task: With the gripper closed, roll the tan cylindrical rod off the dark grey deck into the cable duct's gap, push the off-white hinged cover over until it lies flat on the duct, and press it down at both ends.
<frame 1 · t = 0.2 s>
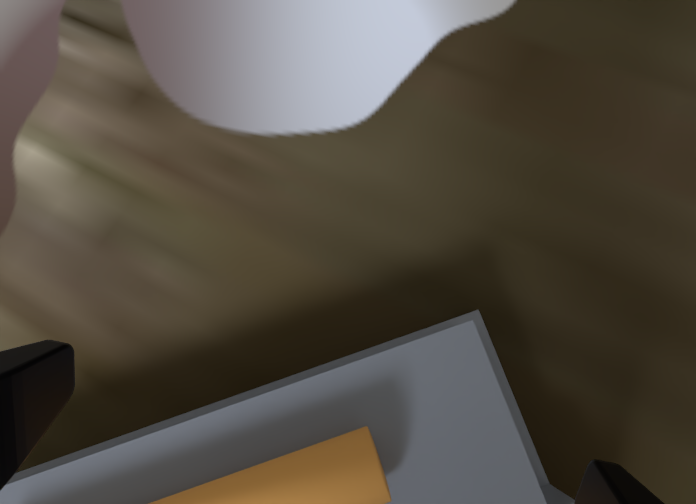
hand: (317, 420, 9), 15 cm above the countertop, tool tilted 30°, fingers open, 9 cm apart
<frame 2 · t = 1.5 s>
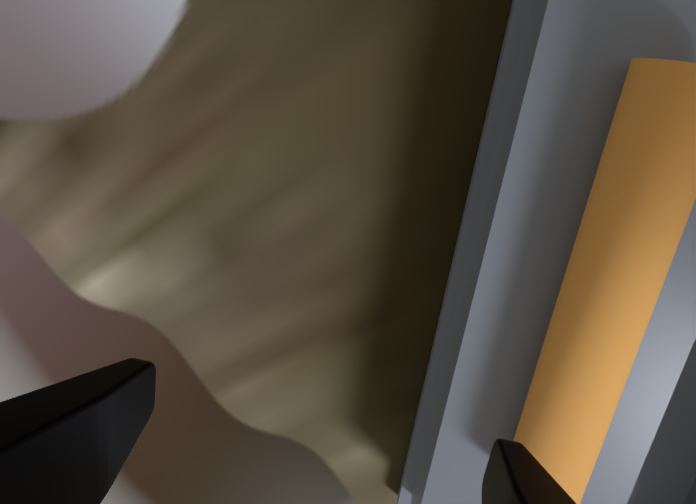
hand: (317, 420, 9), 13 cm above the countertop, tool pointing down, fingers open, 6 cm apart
tan cylindrical rod: (600, 313, 16), point 5 cm above the countertop, touching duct
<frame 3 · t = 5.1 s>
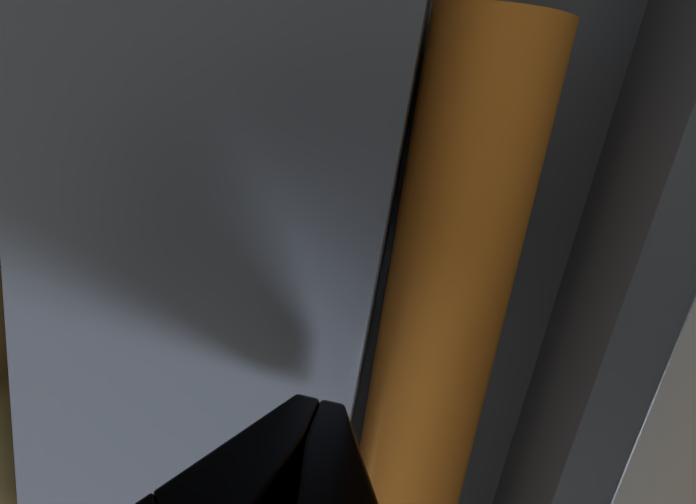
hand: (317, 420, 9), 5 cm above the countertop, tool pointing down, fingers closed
tan cylindrical rod: (432, 360, 12), point 2 cm above the countertop, tilted 81°, touching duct
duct: (452, 322, 13), on the countertop
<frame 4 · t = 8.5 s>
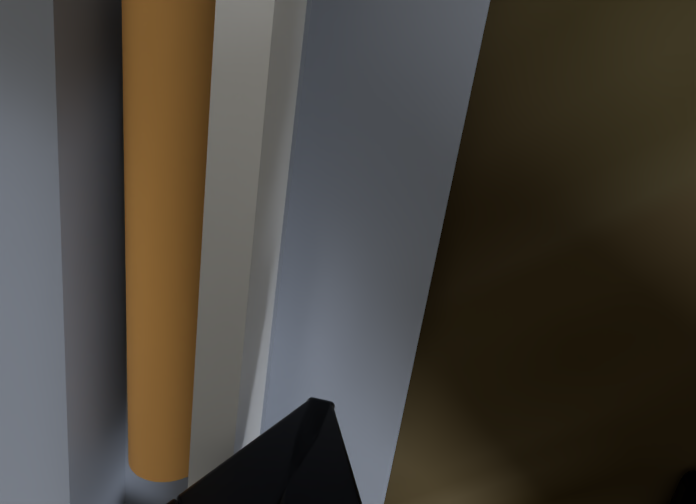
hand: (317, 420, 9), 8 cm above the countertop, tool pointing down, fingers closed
tan cylindrical rod: (172, 255, 15), point 2 cm above the countertop, tilted 55°, touching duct
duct: (199, 234, 17), on the countertop
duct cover: (242, 368, 10), point 7 cm above the countertop, hinge at 99.6°, touching gripper
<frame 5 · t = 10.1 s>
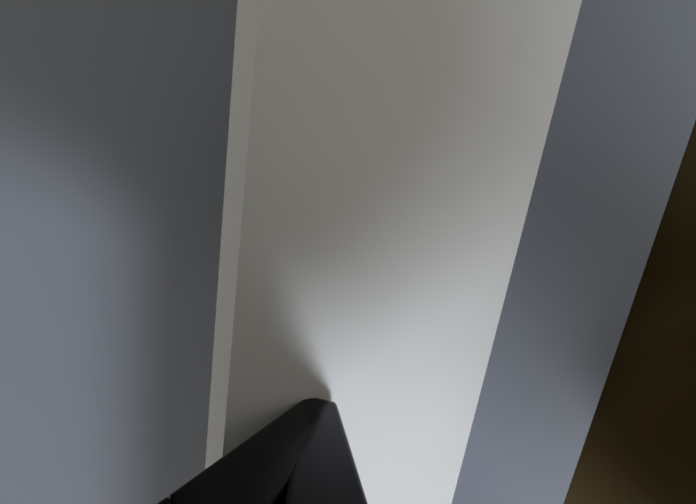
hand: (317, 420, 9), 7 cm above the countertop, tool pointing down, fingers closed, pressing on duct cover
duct: (356, 274, 16), on the countertop
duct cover: (367, 399, 10), point 6 cm above the countertop, hinge at 43.5°, touching gripper
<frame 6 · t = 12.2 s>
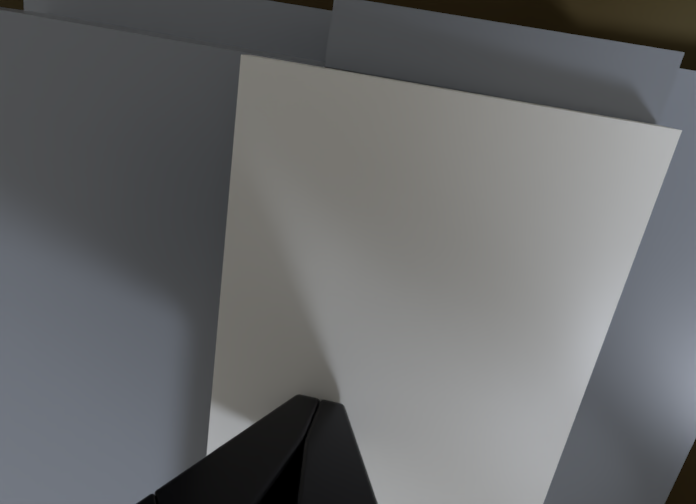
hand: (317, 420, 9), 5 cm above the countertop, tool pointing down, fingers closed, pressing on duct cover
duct: (357, 500, 16), on the countertop
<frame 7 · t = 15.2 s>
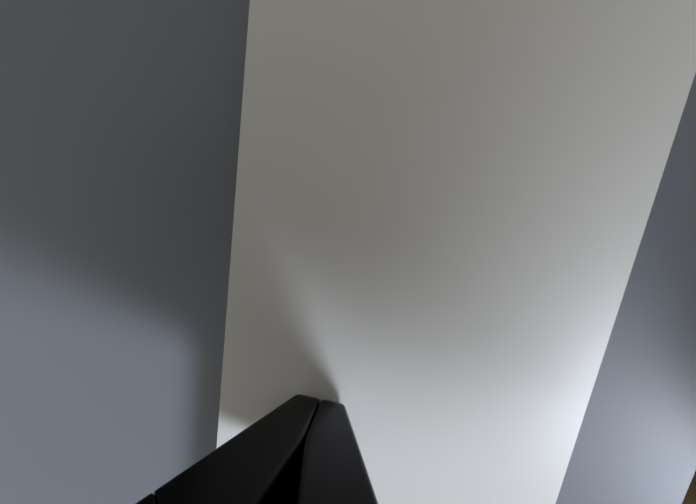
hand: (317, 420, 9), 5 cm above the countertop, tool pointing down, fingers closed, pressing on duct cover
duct: (427, 194, 13), on the countertop
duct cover: (426, 250, 8), point 5 cm above the countertop, hinge at 5.1°, touching gripper
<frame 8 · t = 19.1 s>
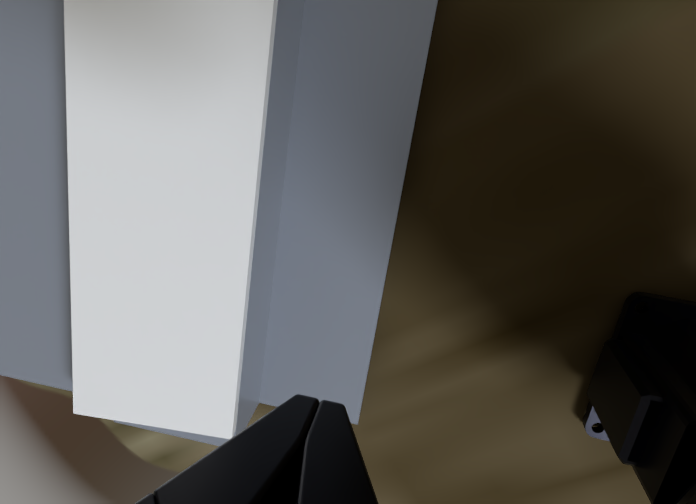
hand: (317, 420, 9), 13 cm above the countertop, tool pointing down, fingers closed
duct: (222, 91, 21), on the countertop
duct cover: (168, 95, 16), point 5 cm above the countertop, hinge at 5.0°
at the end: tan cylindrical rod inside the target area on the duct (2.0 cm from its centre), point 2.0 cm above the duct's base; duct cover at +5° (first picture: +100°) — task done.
